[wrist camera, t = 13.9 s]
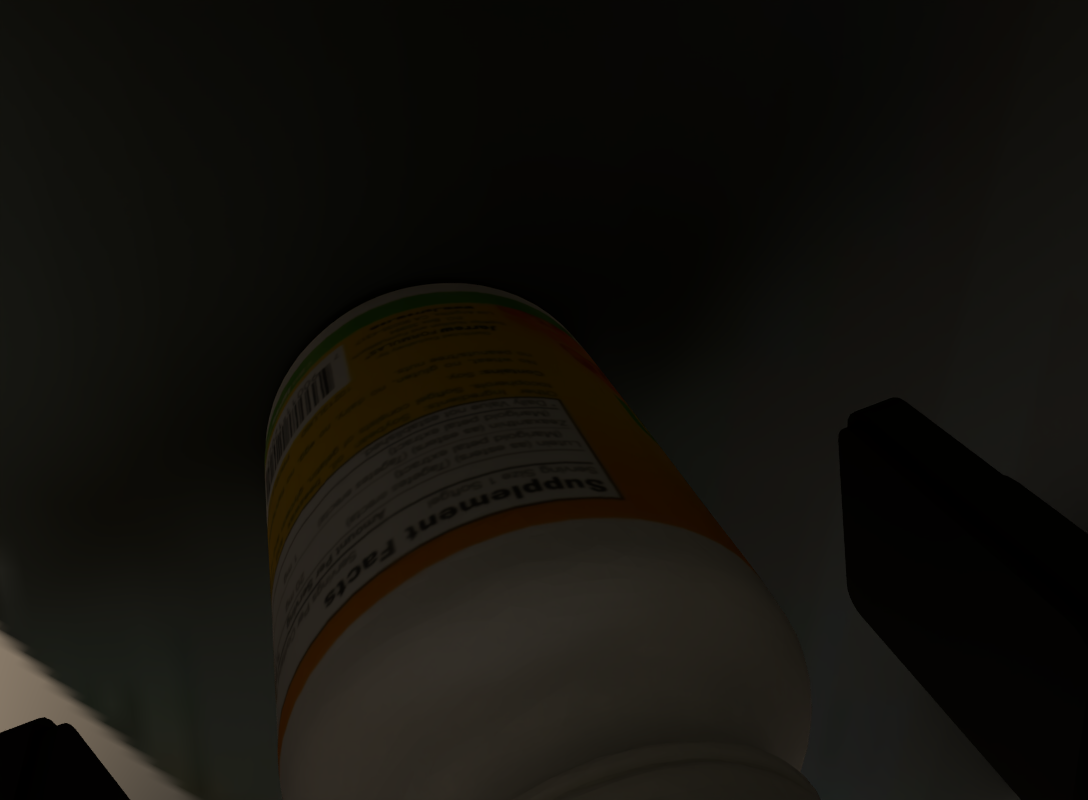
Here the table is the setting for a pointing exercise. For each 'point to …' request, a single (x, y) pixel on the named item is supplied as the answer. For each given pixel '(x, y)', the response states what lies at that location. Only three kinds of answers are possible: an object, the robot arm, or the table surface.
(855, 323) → the table surface
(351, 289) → the table surface
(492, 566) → the supplement bottle
